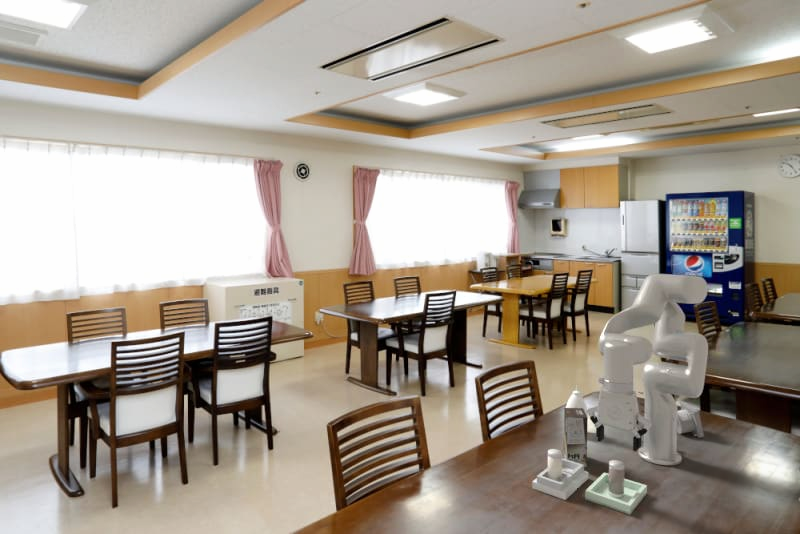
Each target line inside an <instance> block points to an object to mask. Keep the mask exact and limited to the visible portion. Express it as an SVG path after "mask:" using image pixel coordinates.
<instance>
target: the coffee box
mask: <svg viewBox="0 0 800 534" xmlns="http://www.w3.org/2000/svg"><path fill="white" fill-rule="evenodd" d="M588 418H589V417H587V415H586V413H585V411H584V409H583V408H566V407H563V457H564V459H566V460H570V461H573V462H576V463H579V464H583V465H584V468H587V467H588V466H587V465H588V464H587V463H588V462H587V461H588V460H587V459H588V423H589V422H588V421H589V420H588Z"/></svg>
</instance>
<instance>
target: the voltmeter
mask: <svg viewBox="0 0 800 534" xmlns="http://www.w3.org/2000/svg"><path fill="white" fill-rule="evenodd" d="M638 394H641V395H644V391H643V392H641V391H638ZM639 405H642V406H644V403H642V402H641V403H639ZM677 407H680V410H677V434H680V435H681V434H686V433H692V434H693V436H694V437H697V438H698V439H701V438H704V437H705V434H704V430H703V429H704V428H703V424H702V421H701V415H700V411H699V410H698V409H696V408H695V407H693V406H692V405H690V404H688V403H687V402H685V401H682V402H679V404H678V405H677ZM641 412H642V413H645V410H644V411H643V410H641Z"/></svg>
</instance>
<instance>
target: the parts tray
mask: <svg viewBox="0 0 800 534" xmlns="http://www.w3.org/2000/svg"><path fill="white" fill-rule="evenodd" d="M647 494H648V485H647V484H644V483H640V482H637V481H634V480H630V479H627V478H624V497H623V498H615V497H612V496H610V495H609V472H603V473H602V474H601V475H600V476H599V477H597V479H596V480H594V482H593V483H591V484H590V485H589V486H588V488H586V489H585V490H584V500H586V501H589V502H592V503H595V504H597V505H601V506H604V507H606V508H609V509H612V510H614V511H617V512H621V513H623V514H626V515H629V516H630V515H632V513H633V512H634V510H636V508H637V507H638V506H639V505H640V503H641V502H642V501H643V499H644V498H645V497H646V495H647Z"/></svg>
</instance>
